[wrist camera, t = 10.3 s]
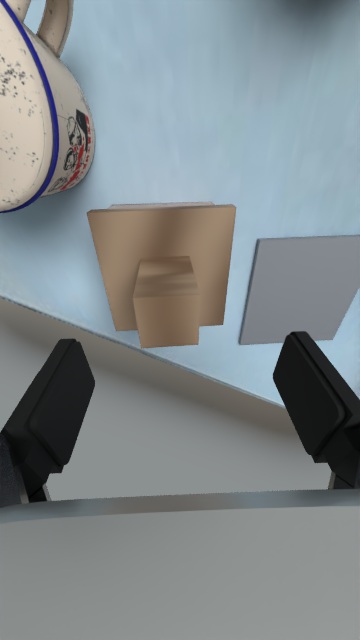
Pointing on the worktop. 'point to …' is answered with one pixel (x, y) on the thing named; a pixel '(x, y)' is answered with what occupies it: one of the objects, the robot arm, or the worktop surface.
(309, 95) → the worktop surface
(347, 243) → the mat
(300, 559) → the robot arm
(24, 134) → the teacup with lid
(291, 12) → the worktop surface
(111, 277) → the lid
